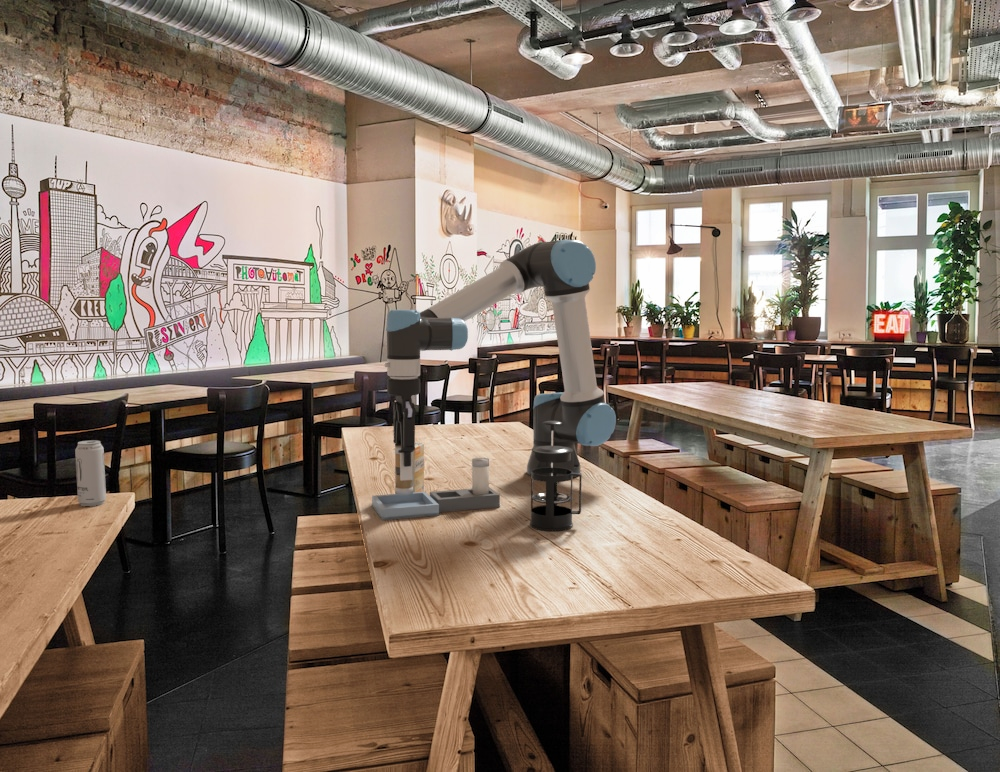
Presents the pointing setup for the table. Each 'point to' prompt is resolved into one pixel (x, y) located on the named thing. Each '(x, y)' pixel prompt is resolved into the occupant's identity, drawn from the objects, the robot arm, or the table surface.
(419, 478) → the supplement box
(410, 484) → the fuse
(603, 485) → the table surface
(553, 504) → the french press
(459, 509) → the fuse block
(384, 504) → the parts tray
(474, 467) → the cylinder
